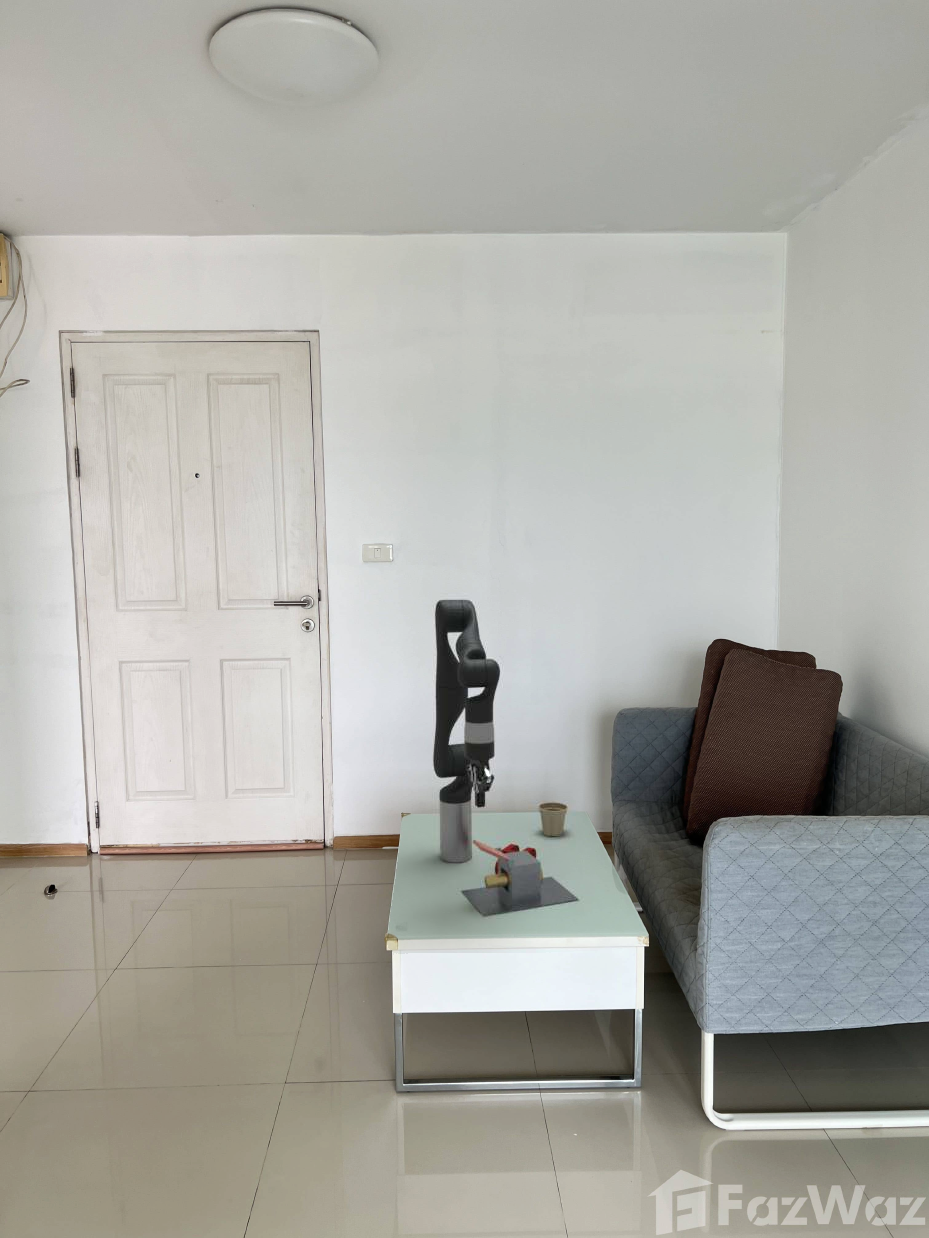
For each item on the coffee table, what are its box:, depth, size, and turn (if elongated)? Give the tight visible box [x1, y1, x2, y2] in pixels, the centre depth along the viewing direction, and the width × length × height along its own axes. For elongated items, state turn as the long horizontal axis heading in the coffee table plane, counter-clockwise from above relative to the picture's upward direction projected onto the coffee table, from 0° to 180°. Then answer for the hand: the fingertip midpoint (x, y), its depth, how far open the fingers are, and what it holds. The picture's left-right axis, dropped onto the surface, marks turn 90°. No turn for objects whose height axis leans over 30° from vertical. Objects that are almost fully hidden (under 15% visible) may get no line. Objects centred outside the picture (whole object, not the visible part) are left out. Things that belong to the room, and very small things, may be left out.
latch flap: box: [472, 839, 509, 862], centre depth 220 cm, size 7×9×1 cm
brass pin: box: [484, 868, 544, 889], centre depth 223 cm, size 6×14×6 cm, turn 110°
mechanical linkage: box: [494, 843, 537, 875], centre depth 242 cm, size 16×7×5 cm, turn 149°
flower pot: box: [537, 801, 569, 837], centre depth 271 cm, size 9×9×9 cm
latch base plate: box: [461, 847, 580, 917], centre depth 224 cm, size 16×26×12 cm, turn 110°
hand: (480, 806), depth 218 cm, fingers closed
